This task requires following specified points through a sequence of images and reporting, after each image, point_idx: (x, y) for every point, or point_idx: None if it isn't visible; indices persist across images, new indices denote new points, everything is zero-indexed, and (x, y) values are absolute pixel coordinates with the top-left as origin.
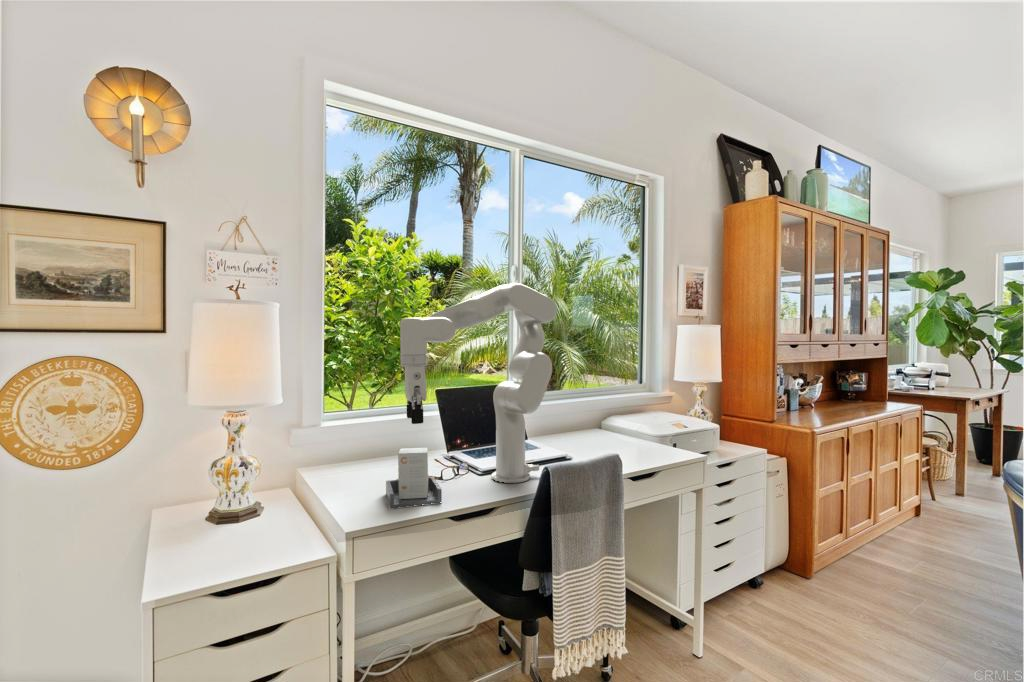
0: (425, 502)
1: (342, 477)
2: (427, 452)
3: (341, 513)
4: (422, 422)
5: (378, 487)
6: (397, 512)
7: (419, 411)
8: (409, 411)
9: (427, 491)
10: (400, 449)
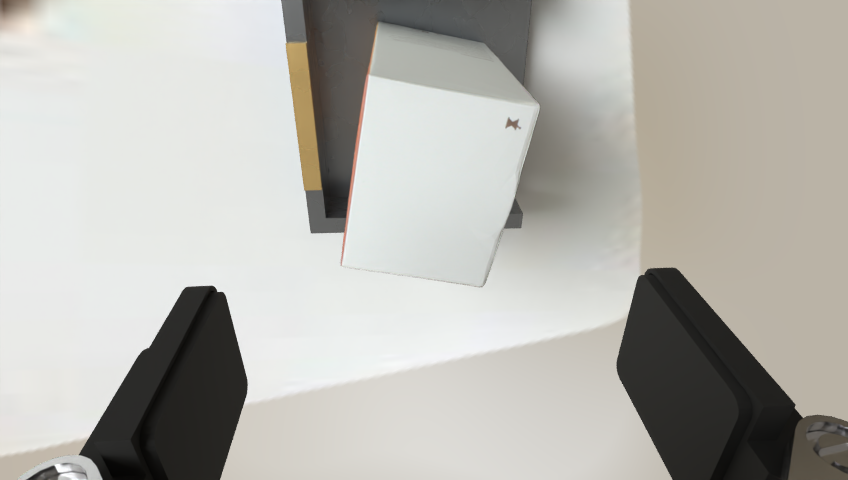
0: (524, 58)
1: (42, 350)
2: (447, 82)
3: (486, 338)
4: (670, 275)
5: (208, 227)
6: (557, 177)
7: (790, 425)
8: (222, 437)
9: (485, 46)
10: (374, 269)
